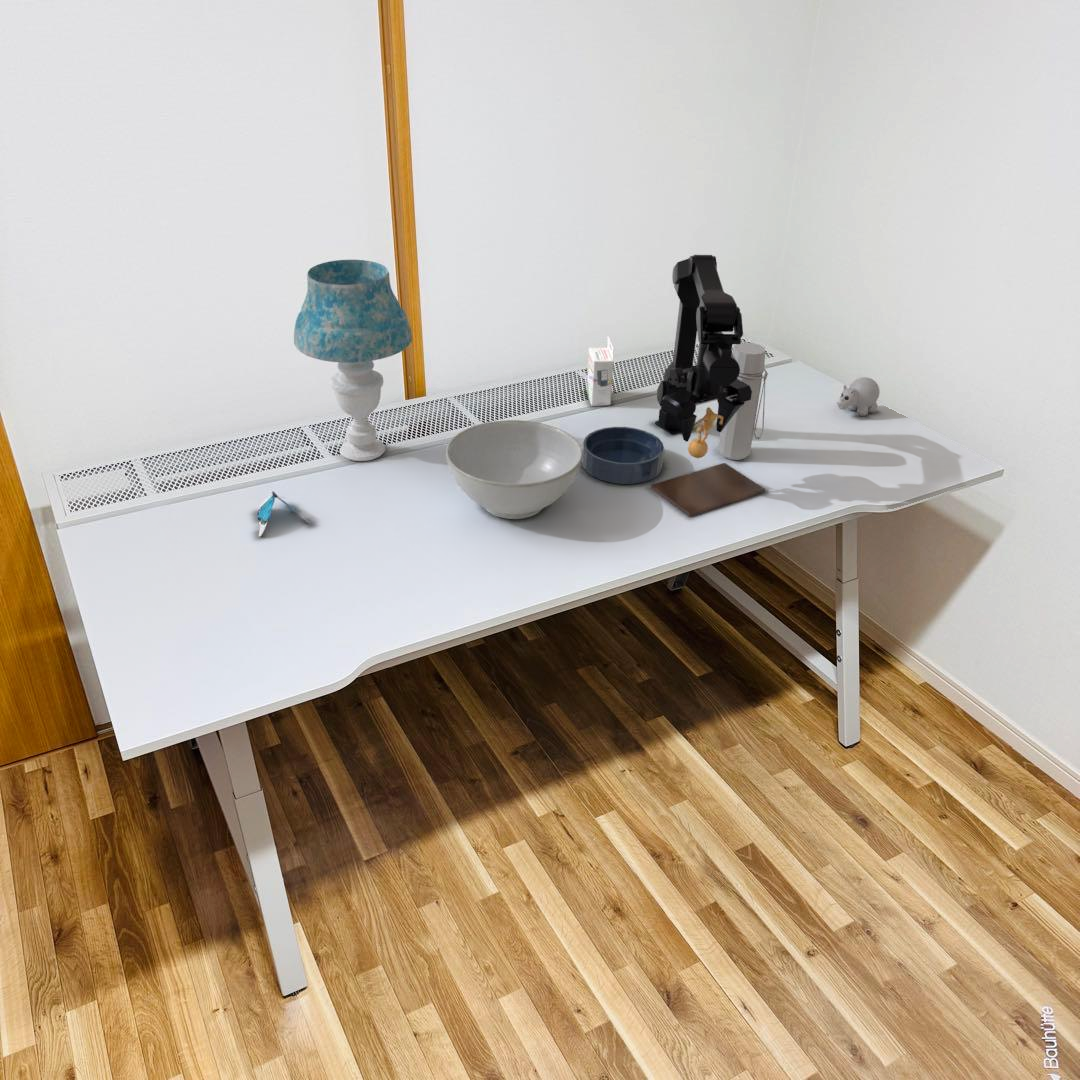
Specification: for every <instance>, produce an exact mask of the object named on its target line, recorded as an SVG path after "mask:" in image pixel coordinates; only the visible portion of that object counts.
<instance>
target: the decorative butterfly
mask: <svg viewBox="0 0 1080 1080" xmlns="http://www.w3.org/2000/svg"><path fill="white" fill-rule="evenodd" d="M269 492H270V495H268V496H266V497H265V498H264V499H263V500H262V501H261V503H260V505H259V507H258V510H257V520H258V521H259V522H258V523H259V532H258V537H261V536H262V535H263V534H264V532H265V529H266V527H267V524H268V522H269V520H270V517H271V513H272V509H273V507H274V503H275V499H278V500H279V501H281V502H282V503H283V504H285V505H286V507H288V508H289V509H291V510H292V511H293V512H294V513H296V514H297V515H298V516H300V517H301V518H302V519H303V520H305V522H307V523H309V521H308V520H307V519H306V518H305V517H303V516H302V515H301V514H300V513H299V512H298V511H297V510H296V509H294V508H293V507H292V506H291V505H290V504H288V503H287V502H286V501H285V500H284V499H285V497H284V496H282V497H281V496H279V495H277V493H276V492H275V491H273V490H270V491H269ZM282 498H283V499H282Z"/></svg>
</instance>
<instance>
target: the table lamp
mask: <svg viewBox="0 0 1080 1080" xmlns="http://www.w3.org/2000/svg"><path fill="white" fill-rule="evenodd" d="M306 279H307V291H306V294H305V298H304V300H303V303H302V305H301V309H300V312H299V313H298V314H297V316H296V319H295V324H294V331H293V344H294V346H295V348H296V349H297V350H298V351H299V352H300V353H302V354H303V355H305V356H306V357H309V358H311V359H312V358H313V359H315V360H319V361H324V362H331V363H337V369H338V372H336V373H334V374H332V376H331V379H330V388H331V389H332V390H333V391H334V395H335V396H334V397H335V400H336V402H337V405H338V407H339V408H340V409H341V411H343V412H344V413H345V414H347V415H349V416H351V417H352V421H351V422H350V425H348V427H346V430H345V431H346V432H345V434H346V441H345V442H344V443H343V444H342V445H341V446H340V447H339V454H340V455H341V456H342V457H343V458H345V459H347V460H348V461H353V462H368V461H372V460H375V459H377V458H380V457H381V456H382V455H383V454H384V453H385V451H386V445H385V444H384V443H383V442H382V441H381V440H379V439H377V430H376V429H377V428H376V427H375V425H373V424H371V422H370V420H369V419H368V416H369V415H370V414H372V413H373V412H374V411H375V410H376V409H377V407H378V406H379V404H380V400H381V392H382V387H383V386H384V377H383V375H382V374H381V373H380V372H379V371H377V370H373V369H374V366H375V364H374V363H375V362H374V361H379V360H382V359H387V358H389V357H392V356H393V357H394V356H396V355H397V354H400V353H401V352H403V351H404V350H405V349H407V348H408V347H409V346H410V345H411V343H412V342H413V341H412V340H413V333H412V329H411V325H410V322H409V319H408V316H407V314H406V312H405V310H404V309H403V308H402V307H401V305H400V301H399V300H398V298H397V297H396V295H395V293H394V291H393V289H392V285H391V279H390V271H389V269H388V268H387V267H386V266H385V265H383V264H381V263H379V262H376V261H372V260H364V259H338V260H331V261H325V262H322V263H319V264H316V265H313V266H312V267H310V269H308V271H307V274H306Z"/></svg>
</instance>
